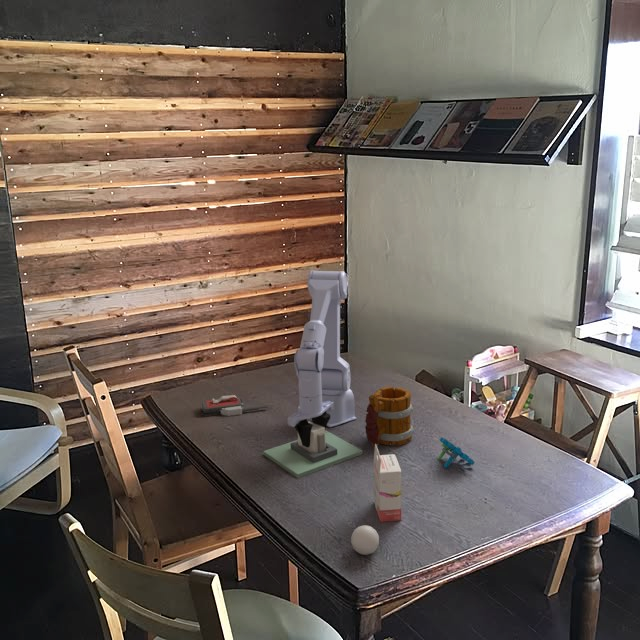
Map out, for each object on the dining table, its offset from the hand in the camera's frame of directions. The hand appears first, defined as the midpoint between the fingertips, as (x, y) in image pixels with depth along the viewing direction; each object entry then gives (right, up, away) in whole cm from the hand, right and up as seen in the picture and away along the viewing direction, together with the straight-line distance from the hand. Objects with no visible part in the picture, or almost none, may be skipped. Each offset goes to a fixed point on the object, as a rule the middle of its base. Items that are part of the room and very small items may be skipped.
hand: (312, 443), depth 185 cm
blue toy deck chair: (+36, -4, -7) cm, 36 cm away
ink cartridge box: (+17, -11, -27) cm, 33 cm away
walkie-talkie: (-24, +4, +31) cm, 40 cm away
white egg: (+11, -15, -40) cm, 44 cm away
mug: (+20, -1, +7) cm, 21 cm away
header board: (0, -3, +1) cm, 3 cm away
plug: (0, -1, +1) cm, 2 cm away
